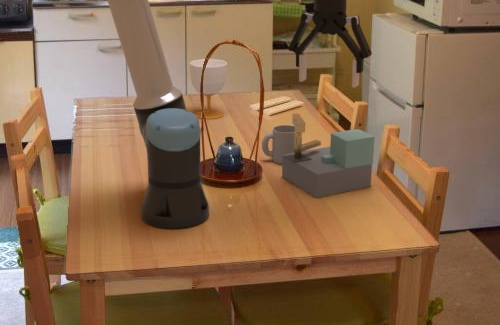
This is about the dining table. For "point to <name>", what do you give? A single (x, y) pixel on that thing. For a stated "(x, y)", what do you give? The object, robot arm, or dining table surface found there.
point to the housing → (323, 174)
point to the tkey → (298, 145)
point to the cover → (350, 149)
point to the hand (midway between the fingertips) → (328, 83)
